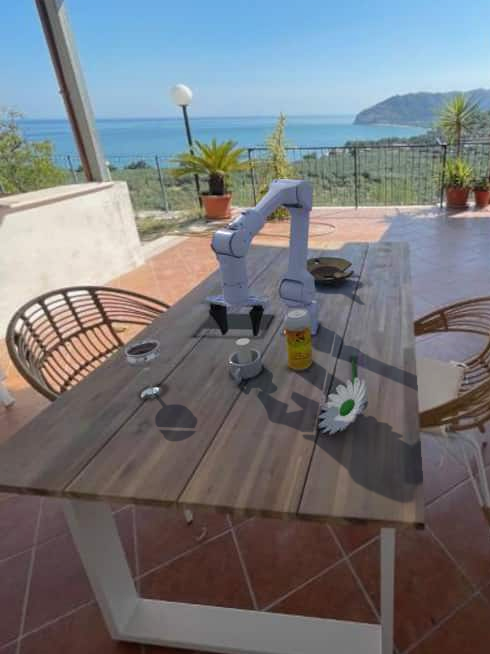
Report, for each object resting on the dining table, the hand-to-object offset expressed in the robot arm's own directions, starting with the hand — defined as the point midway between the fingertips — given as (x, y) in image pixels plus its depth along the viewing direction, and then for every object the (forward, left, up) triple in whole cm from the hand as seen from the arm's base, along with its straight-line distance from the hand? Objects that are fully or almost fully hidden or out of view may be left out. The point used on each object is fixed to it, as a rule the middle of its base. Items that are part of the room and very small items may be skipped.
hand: (240, 333), depth 93 cm
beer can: (-13, -3, -11) cm, 17 cm away
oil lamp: (-12, -60, -11) cm, 62 cm away
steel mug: (0, +2, -11) cm, 11 cm away
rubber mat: (+11, -23, -11) cm, 27 cm away
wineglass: (+19, +9, -11) cm, 23 cm away
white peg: (0, 0, -10) cm, 10 cm away
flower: (-27, +8, -11) cm, 30 cm away
